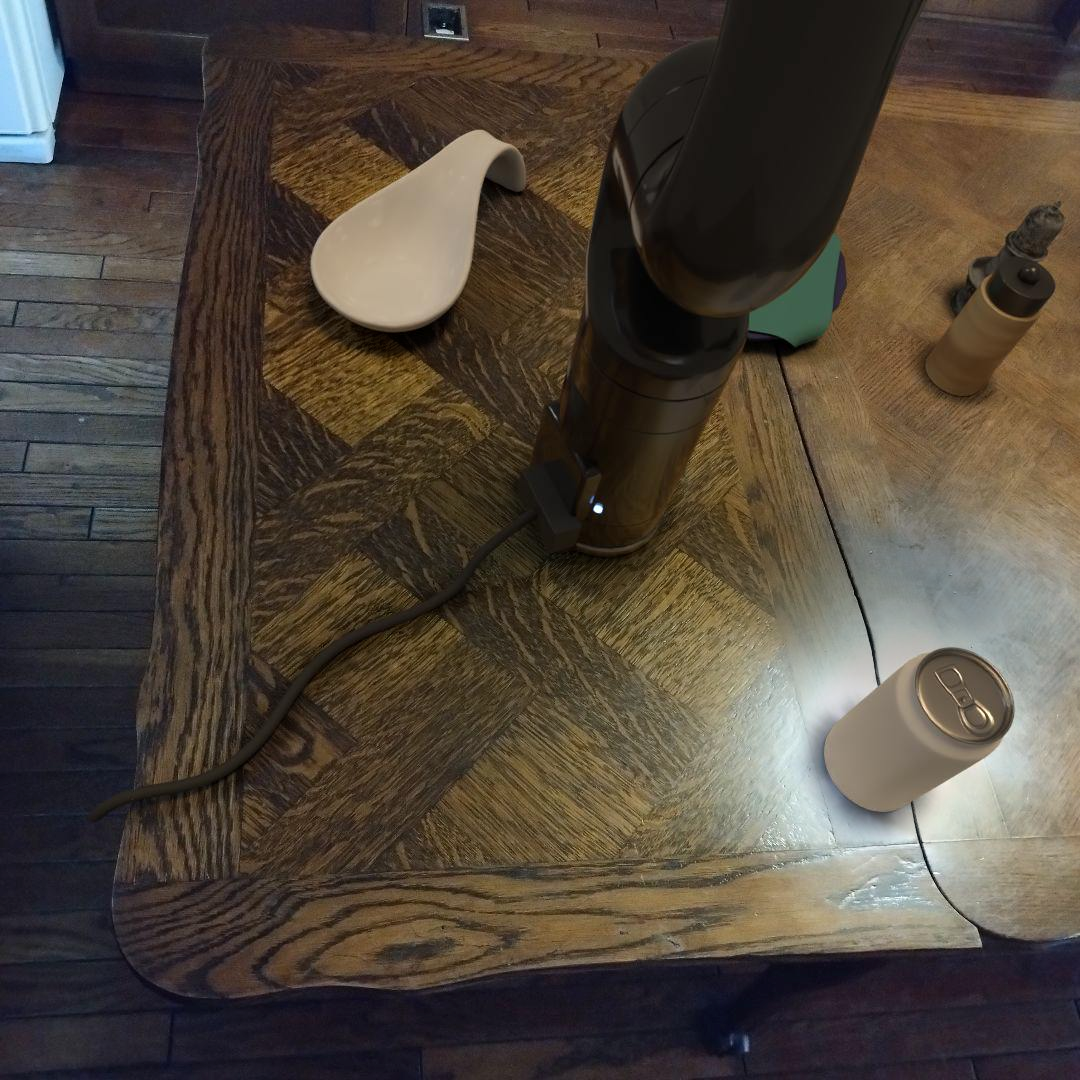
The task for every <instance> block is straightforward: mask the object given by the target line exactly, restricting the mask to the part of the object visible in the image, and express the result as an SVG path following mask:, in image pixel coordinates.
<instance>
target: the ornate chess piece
mask: <svg viewBox="0 0 1080 1080" xmlns="http://www.w3.org/2000/svg"><path fill="white" fill-rule="evenodd" d="M1061 208H1062V201H1061V200H1057V201H1055V202H1052V205H1051V204H1046V203H1045V204H1044V203H1043V204H1039V205H1036V206H1034V207H1032V208H1031V209H1030V211H1029V212H1028V214H1027V215H1025V217H1024V219H1023V220H1022V222H1021V223H1020V225H1019V226H1018V227H1017V229H1016V230H1012V231H1010V232H1008V233H1007V234H1006V236H1005V239H1004V243H1005V244H1004V245H1003V246H1002V248H1001V249H1000V251H999V252H998V253H997V255H993V254H991V255H989V254H987V255H986V254H985V255H981V256H977V257H976V258H974V259H972V260H971V262H970V263H969V265H968V268H967V275H966V280H965V284H964V286H962V287H959V288H958V289H956V290H955V291H954V292H953V294H952V295H951V299H950V304H951V308H952V310H953V312H954V313H955V315H956V317H957V316H958V314H959V313H960V312H961V310H962V309H963V307H964V306H965V305H966V303H967V302H968V301H969V299H970V298H971V296H972V295H973V294H974V292H975V291H976V290H977V288H978V287H979V285H980V284H981V283H982V281H983V280H984V279H985V278H986V277H987V276H989V275H992V274H993V273H994V272H995V270H996V269H997V268H998V266H999V265H1000V263H1001V262H1002V261H1003V260H1005V259H1006V258H1009V257H1024V258H1028V259H1031V260H1033V261H1035V262H1037V263H1039V262H1043V261H1044V260H1046V258H1047V257H1048V255H1049V254H1048V253H1049V250H1048V248H1049V247H1050V245H1052V243H1053V242H1054V240H1056V238H1057V237H1058V235H1059V234H1060V232H1061V231H1062V230H1063V228H1064V226H1065V224H1066V223H1065V222H1066V221H1065V220H1066V219H1065V216H1064V214H1063V212H1062V211H1061V210H1060V209H1061Z"/></svg>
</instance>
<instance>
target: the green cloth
mask: <svg viewBox="0 0 1080 1080" xmlns="http://www.w3.org/2000/svg"><path fill="white" fill-rule="evenodd" d="M841 248H842V238H841V237H839V236H838V235H837V234H836V233H835V232H834V233H833V235H832V237H831V239H830V241H829V242H828V244H827V246H826V247H825V249H824V251H823V252H822V254H821V255H820V257H819V258H818V259H817V261H816V262H815V263H814V264H813V265H812V267H811V268H810V269H809V270H808V271H807V273H806V274H805V275H804V276H803V277H802V278H801V279H800V280H799V281H798V282H797V283H795V284H794V285H793V286H792V287H791V288H790V289H789V290H788V291H786V292H785V293H784V294H782V295H781V296H779V297H778V298H776V299H775V300H773V301H772V302H770V303H769V304H767V305H765V306H763V307H761V308H759V309H756V310H754V311H752V312H750V317H749V329H748V335H747V338H746V341H752V342H757V341H771V340H785V341H787V342H788V343H790V344H791V345H792V346H793V347H794V348H797V347H799V346H801V345H804V344H806V343H810V342H814V341H816V340H818V339H819V338H821V337H823V335H824V334H825V332H826V331H827V330H828V328H829V326H830V323H831V320H832V315H833V313H834V312H835V311H836V310H837V309H838V308H839V306H840V304H841V301H842V299H843V296H844V293H845V291H846V288H847V286H848V279H847V268H846V259H845V256H844V254H843V252H842V250H841Z"/></svg>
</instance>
